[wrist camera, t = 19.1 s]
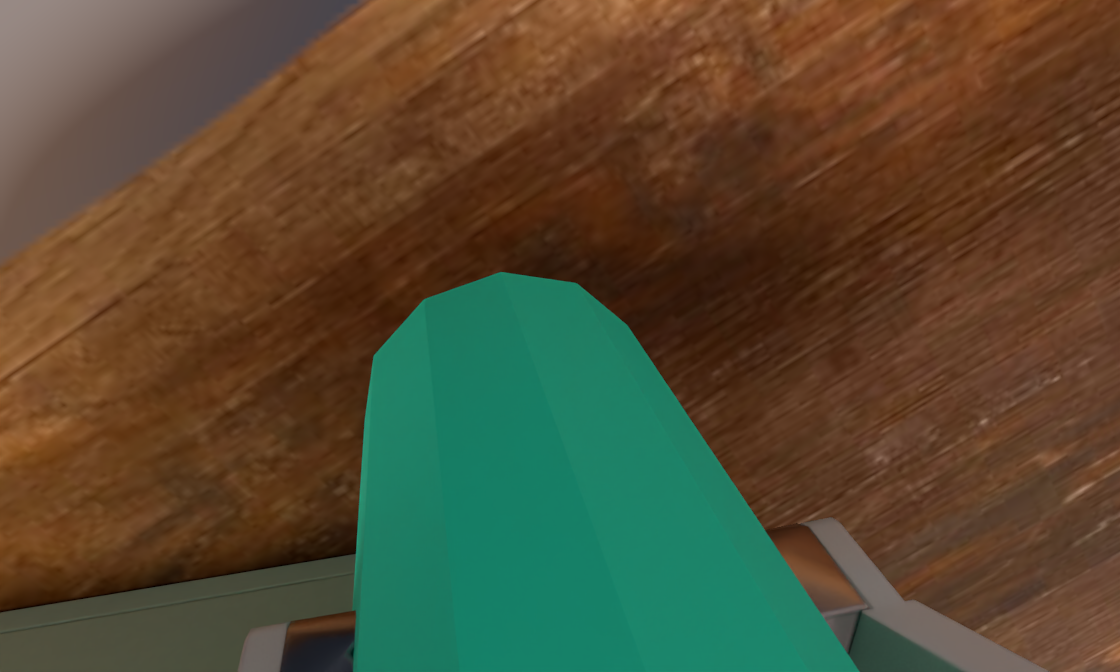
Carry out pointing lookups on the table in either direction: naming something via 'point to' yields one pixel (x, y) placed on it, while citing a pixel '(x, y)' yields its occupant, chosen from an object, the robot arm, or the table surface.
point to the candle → (556, 506)
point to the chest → (172, 621)
